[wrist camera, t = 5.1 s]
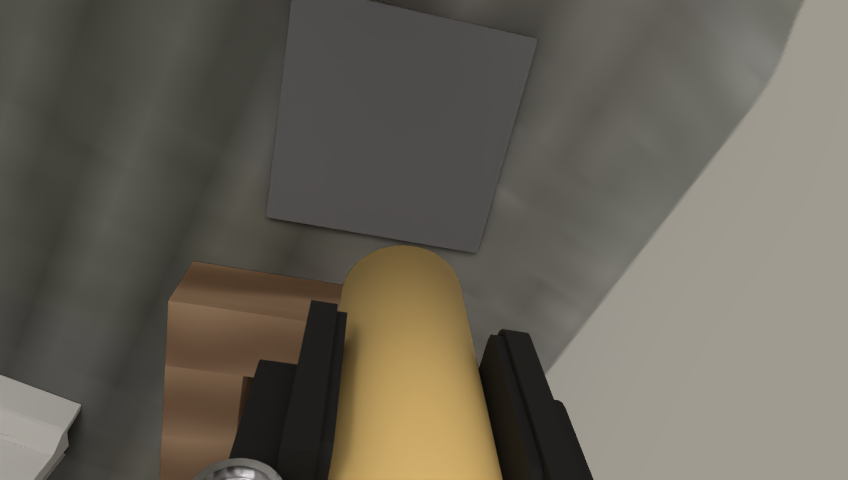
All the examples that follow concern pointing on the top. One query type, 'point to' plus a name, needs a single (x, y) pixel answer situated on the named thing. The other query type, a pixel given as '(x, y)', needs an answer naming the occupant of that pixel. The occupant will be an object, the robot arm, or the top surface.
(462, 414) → the peg
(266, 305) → the hole block
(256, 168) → the top surface
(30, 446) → the white plastic device case
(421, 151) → the mat
